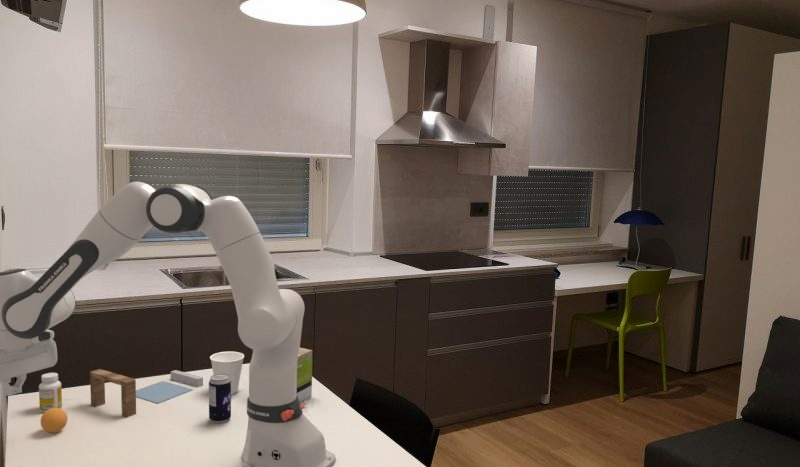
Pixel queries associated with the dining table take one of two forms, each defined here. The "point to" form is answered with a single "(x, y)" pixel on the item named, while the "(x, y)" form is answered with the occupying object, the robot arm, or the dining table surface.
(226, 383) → the beverage can
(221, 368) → the cup
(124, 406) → the bridge
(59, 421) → the ball
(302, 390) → the tea box
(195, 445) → the dining table surface
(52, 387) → the supplement bottle
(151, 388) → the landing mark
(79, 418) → the dining table surface
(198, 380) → the grey rectangular bar
